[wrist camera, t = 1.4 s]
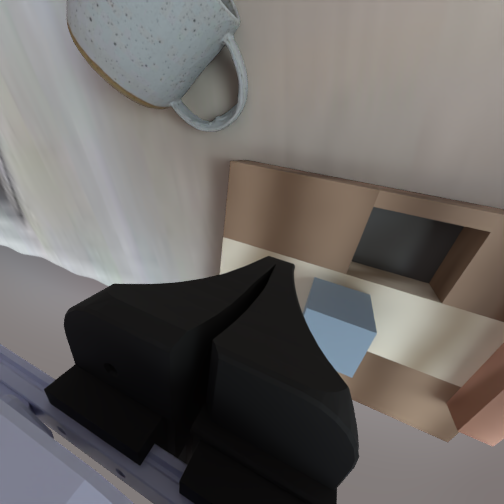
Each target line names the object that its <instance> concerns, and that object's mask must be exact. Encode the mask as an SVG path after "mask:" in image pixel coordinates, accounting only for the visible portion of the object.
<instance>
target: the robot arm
mask: <svg viewBox="0 0 504 504" xmlns="http://www.w3.org/2000/svg"><path fill="white" fill-rule="evenodd" d="M294 270H295V265H294V264H293V263H290V262H286V261H283V260H280V259H277V258H274V257H271V256H267V257H264V258H262V259H260V260H258V261H256V262H253V263H251V264H249V265H246V266H244V267H241V268H238V269H235V270H233V271H230V272H227V273H224V274H220V275H217V276H212V277H208V278H203V279H197V280H191V281H184V282H175V283H162V284H112V285H111V286H109V287H107V288H105V289H104V290H102V291H100V292H98V293H96V294H95V295H93V296H91V297H90V298H88V299H86V300H84V301H82V302H80V303H79V304H77V305H75V306H73V307H71V308H70V309H69V310H68V311H67V313H66V315H65V319H64V328H65V333H66V336H67V340H68V343H69V345H70V349H71V352H72V355H73V358H74V361H75V365H74V366H73V367H72V368H70V369H69V370H68V371H67V372H65V373H64V374H63V375H61V376H60V377H59V378H58V379H56V380H55V379H54V378H52V377H51V376H49V375H47V374H46V373H45V372H43V371H41V370H40V369H38V368H37V367H35V366H34V365H32V364H31V363H29V362H27V361H26V360H24V359H23V358H21V357H20V356H18V355H17V354H15V353H13V352H12V351H10V350H9V349H7V348H6V347H4V346H2V345H1V344H0V504H134V503H133V502H132V501H131V500H130V499H129V498H127V497H126V496H125V495H124V494H123V493H121V492H120V491H119V490H118V489H117V488H116V487H115V486H113V485H112V484H111V483H110V482H109V481H107V480H106V479H105V478H104V477H103V476H102V475H100V474H99V473H98V472H97V471H96V470H94V469H93V468H92V467H90V466H89V465H88V464H86V463H85V462H84V461H82V460H81V459H80V458H78V457H77V456H76V455H74V454H73V453H71V452H70V451H69V450H68V449H66V448H65V447H64V446H62V445H61V444H59V443H58V442H57V441H55V440H54V437H53V434H52V432H51V430H50V429H49V428H48V427H47V426H46V425H48V426H49V427H50V428H51V429H53V430H54V431H56V432H57V433H58V434H60V435H61V436H62V437H64V438H65V439H66V440H68V441H69V442H71V443H72V444H73V445H75V446H76V447H77V448H79V449H80V450H81V451H83V452H84V453H85V454H87V455H88V456H90V457H91V458H92V459H94V460H95V461H96V462H98V463H99V464H100V465H102V466H103V467H104V468H106V469H107V470H109V471H110V472H111V473H113V474H114V475H115V476H117V477H118V478H120V479H121V480H122V481H124V482H125V483H126V484H128V485H129V486H130V487H132V488H133V489H134V490H136V491H137V492H139V493H140V494H141V495H143V496H144V497H145V498H147V499H148V500H149V501H151V502H152V503H154V504H336V500H337V487H338V486H339V485H340V484H341V482H342V481H343V480H344V479H345V477H346V476H347V475H348V474H349V473H350V472H351V471H352V469H353V468H354V467H355V465H356V462H357V460H358V458H359V454H358V448H359V444H358V432H357V424H356V418H355V413H354V407H353V403H352V398H351V393H350V389H349V387H348V386H347V384H346V383H345V382H344V380H343V379H342V378H341V376H340V375H339V374H338V372H337V371H336V370H335V369H334V367H333V366H332V365H331V363H330V362H329V361H328V359H327V358H326V356H325V355H324V353H323V352H322V350H321V349H320V347H319V346H318V344H317V342H316V340H315V338H314V336H313V335H312V333H311V331H310V329H309V327H308V325H307V323H306V320H305V318H304V316H303V313H302V310H301V308H300V304H299V301H298V297H297V293H296V288H295V282H294ZM44 423H45V424H46V425H45V424H44Z"/></svg>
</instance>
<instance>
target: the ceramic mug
mask: <svg viewBox="0 0 504 504" xmlns="http://www.w3.org/2000/svg"><path fill="white" fill-rule="evenodd" d="M67 25H68V29H69V32H70V34H71V37H72V39H73V42H74V43H75V45H76V46H77V48H78V50H79V51H80V53H81V54H82V56H83V57H84V58H85V59H86V61H87V62H88V63H89V65H90V66H91V67H92V68H93V69H94V70H95V71H96V72H97V73H98V74H99V75H100V76H101V77H102V78H103V79H104V80H105V81H106V82H107V83H109V84H110V85H111V86H112V87H113V88H115V89H116V90H117V91H119V92H120V93H121V94H123V95H124V96H126V97H128V98H129V99H131V100H133V101H134V102H136V103H138V104H140V105H143V106H146V107H149V108H156V109H165V108H167V107H169V106H171V107H173V108H174V110H175V112H176V113H177V114H178V115H179V116H180V117H181V118H182V119H183V120H184V121H185V122H187V123H188V124H189V125H191V126H193V127H194V128H196V129H198V130H202V131H208V132H212V131H219V130H221V129H224V128H225V127H227V126H229V125H230V124H231V123H233V122H234V121H235V120H236V119H237V117H238V116H239V115H240V114H241V111H242V110H243V108H244V105H245V103H246V100H247V94H248V79H247V72H246V68H245V65H244V61H243V58H242V56H241V53H240V50H239V48H238V46H237V44H236V42H235V40H234V36H233V35H234V33H235V31H236V30H237V28H238V27H239V25H240V17H239V14H238V11H237V8H236V6H235V4H234V2H233V1H232V0H67ZM225 45H226V46H227V48H228V49H229V51H230V53H231V56H232V60H233V62H234V65H235V68H236V72H237V75H238V81H239V87H238V88H239V94H238V103H237V104H236V105H235V106H234V107H233V108H232V109H230V110H229V111H228V112H227V113H225V114H224V115H222V116H216V118H215V119H214V120H213V121H211V122H209V121H206V120H202V119H200V118H199V117H198V116H197V115H195V114H193V113H192V112H191V111H190V110H189V109H188V108H187V107H186V106H185V105H184V104H183V102H182V101H181V98H182V96H183V95H184V94H185V93H186V92H187V90H188V89H189V88H190V86H191V85H192V84H193V82H194V81H195V79H196V78H197V77H198V76H199V74H200V73H201V72H202V71H203V70H204V69H205V67H206V66H207V65H208V64H209V63H210V62H211V61H212V60H213V58H214V57H215V56H216V55H217V54H218V53H219V52H220V50H221V49H222V48H223V47H224V46H225Z"/></svg>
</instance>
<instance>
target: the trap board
mask: <svg viewBox="0 0 504 504" xmlns="http://www.w3.org/2000/svg"><path fill="white" fill-rule="evenodd" d="M267 256H271V257H274V258H277V259H280V260H283V261H286V262H290V263H293V264H294V265H295V270H294V282H295V288H296V293H297V297H298V301H299V304H300V308H301V310H302V313H303V311H304V308H305V305H306V302H307V298H308V295H309V292H310V289H311V286H312V283H313V280H314V277H316V278H319V279H322V280H325V281H329V282H332V283H335V284H338V285H341V286H344V287H347V288H351V289H354V290H357V291H360V292H363V293H366V294H369V295H370V297H371V302H372V308H373V313H374V319H375V325H376V330H377V334H376V336H375V338H374V340H373V341H372V343H371V345H370V347H369V349H368V350H367V352H366V354H365V356H364V357H363V359H362V361H361V363H360V365H359V366H358V368H357V370H356V372H355V373H354V375H353V377H352V378H351V377H349V376H347V375H344V374H342V373H339V372H338V374H339V375H340V376H341V378H342V379H343V380H344V382H345V383H346V384H347V386H348V387H349V389H350V393H351V398H352V400H354V401H357V402H359V403H361V404H363V405H365V406H368V407H370V408H372V409H374V410H377V411H379V412H381V413H384V414H386V415H388V416H390V417H392V418H394V419H397V420H399V421H401V422H404V423H406V424H408V425H410V426H412V427H415V428H417V429H419V430H421V431H423V432H426V433H428V434H430V435H432V436H435V437H437V438H439V439H441V440H444V441H446V442H449V441H450V440H451V439H452V438H453V437H454V436H456V435H457V434H458V433H459V432H461V433H463V434H465V435H467V436H470V437H472V438H475V439H477V440H479V441H481V442H484V443H486V444H488V445H491V446H494V445H496V444H497V443H498V442H500V441H501V440H502V439H504V210H503V209H498V208H493V207H488V206H483V205H477V204H472V203H467V202H462V201H457V200H451V199H446V198H441V197H436V196H431V195H425V194H420V193H415V192H410V191H404V190H399V189H394V188H389V187H384V186H378V185H373V184H368V183H363V182H358V181H352V180H347V179H342V178H337V177H332V176H326V175H321V174H316V173H311V172H305V171H300V170H295V169H290V168H285V167H279V166H274V165H269V164H264V163H259V162H253V161H248V160H239V161H230V170H229V180H228V191H227V202H226V212H225V223H224V234H223V244H222V255H221V266H220V274H224V273H227V272H230V271H233V270H235V269H238V268H241V267H244V266H246V265H249V264H251V263H253V262H256V261H258V260H260V259H262V258H264V257H267Z"/></svg>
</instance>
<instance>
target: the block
mask: <svg viewBox="0 0 504 504" xmlns="http://www.w3.org/2000/svg"><path fill="white" fill-rule="evenodd" d="M303 316H304V318H305V320H306V323H307V325H308V327H309V329H310V331H311V333H312V335H313V336H314V338H315V340H316V342H317V344H318V346H319V347H320V349H321V350H322V352H323V353H324V355H325V356H326V358H327V359H328V361H329V362H330V363H331V365H332V366H333V367H334V369H335V370H336V371H337V372H339V373H342V374H344V375H347V376H349V377H351V378H352V377H353V375H354V373H355V372H356V370H357V368H358V366H359V365H360V363H361V361H362V359H363V357H364V356H365V354H366V352H367V350H368V349H369V347H370V345H371V343H372V341H373V340H374V338H375V336H376V334H377V330H376V325H375V319H374V313H373V308H372V302H371V297H370V295H369V294H366V293H363V292H360V291H357V290H354V289H351V288H347V287H344V286H341V285H338V284H335V283H332V282H329V281H325V280H322V279H319V278H316V277H314V280H313V283H312V286H311V289H310V292H309V295H308V298H307V302H306V305H305V308H304V311H303Z"/></svg>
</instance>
